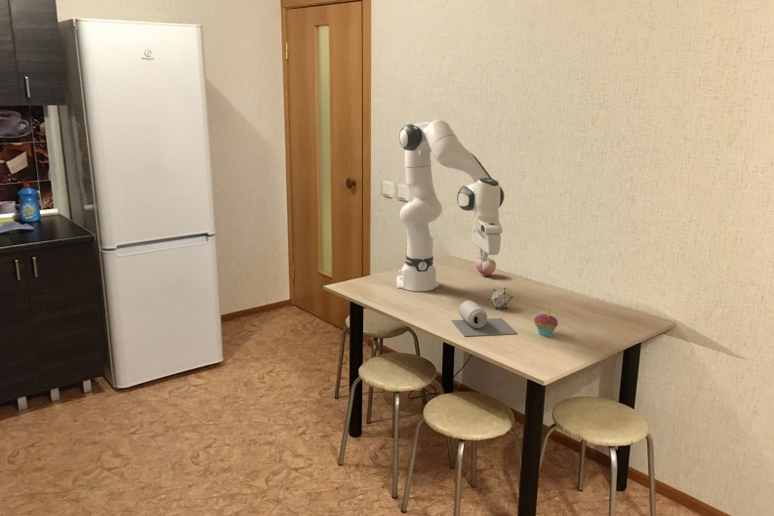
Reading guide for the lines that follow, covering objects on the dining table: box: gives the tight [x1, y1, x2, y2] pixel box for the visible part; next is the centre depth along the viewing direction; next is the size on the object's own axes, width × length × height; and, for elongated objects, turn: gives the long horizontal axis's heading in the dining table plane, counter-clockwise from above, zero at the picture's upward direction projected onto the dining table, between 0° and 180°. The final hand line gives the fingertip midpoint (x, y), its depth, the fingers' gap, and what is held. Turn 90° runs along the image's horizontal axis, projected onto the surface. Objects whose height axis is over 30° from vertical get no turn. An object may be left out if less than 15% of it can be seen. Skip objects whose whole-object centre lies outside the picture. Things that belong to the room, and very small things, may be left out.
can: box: [458, 300, 488, 328], centre depth 243 cm, size 8×8×12 cm
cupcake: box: [533, 304, 559, 337], centre depth 235 cm, size 9×8×12 cm
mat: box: [450, 317, 519, 338], centre depth 241 cm, size 16×20×1 cm
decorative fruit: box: [475, 257, 497, 277], centre depth 305 cm, size 9×8×10 cm
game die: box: [488, 287, 514, 310], centre depth 262 cm, size 9×8×10 cm
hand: (483, 260), depth 240 cm, fingers closed
